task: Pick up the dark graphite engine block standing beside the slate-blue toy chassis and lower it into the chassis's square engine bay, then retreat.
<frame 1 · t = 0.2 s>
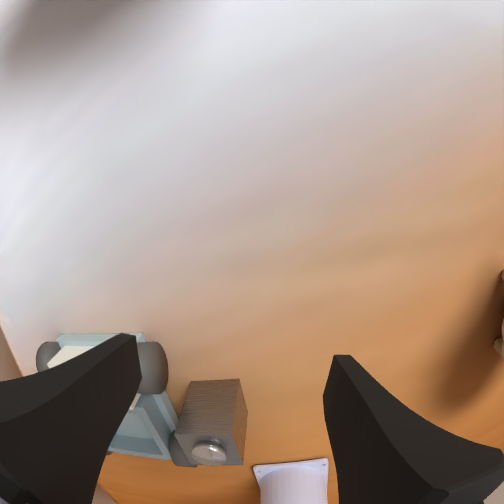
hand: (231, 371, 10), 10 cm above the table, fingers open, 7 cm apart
chassis: (126, 396, 23), on the table
engine block: (220, 397, 23), on the table
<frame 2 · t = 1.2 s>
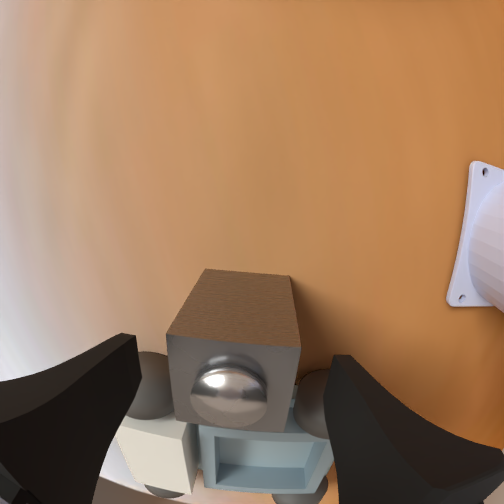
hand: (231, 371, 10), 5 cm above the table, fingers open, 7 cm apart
chassis: (236, 428, 17), on the table
engine block: (244, 310, 15), on the table
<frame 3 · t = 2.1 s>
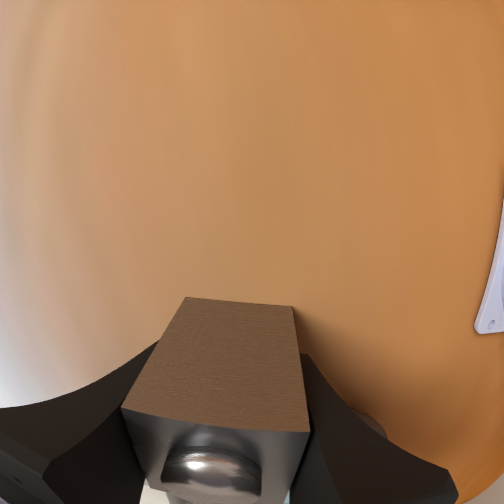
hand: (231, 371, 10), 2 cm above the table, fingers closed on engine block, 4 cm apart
chassis: (230, 466, 14), on the table
engine block: (235, 346, 11), on the table, touching gripper
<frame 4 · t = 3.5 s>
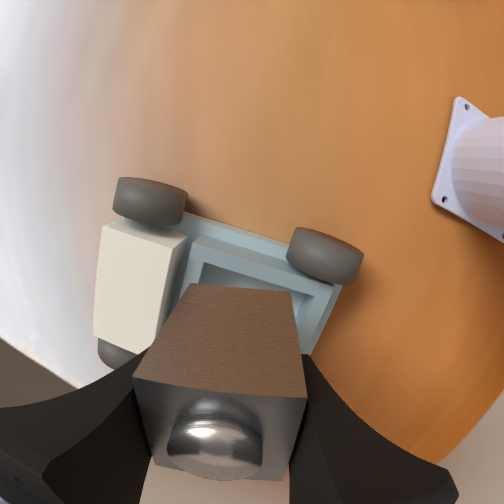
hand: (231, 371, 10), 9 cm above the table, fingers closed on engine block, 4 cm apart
chassis: (217, 293, 19), on the table
engine block: (237, 330, 12), point 6 cm above the table, touching gripper
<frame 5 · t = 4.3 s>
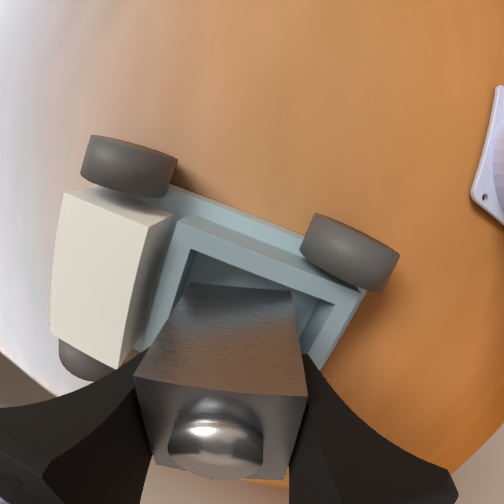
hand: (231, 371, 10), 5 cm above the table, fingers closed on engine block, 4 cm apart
chassis: (206, 292, 15), on the table
engine block: (237, 329, 12), point 3 cm above the table, touching gripper
when the fingers open (4 cm above the table, at t = 4.9 s): engine block stays where it is, resting on chassis.
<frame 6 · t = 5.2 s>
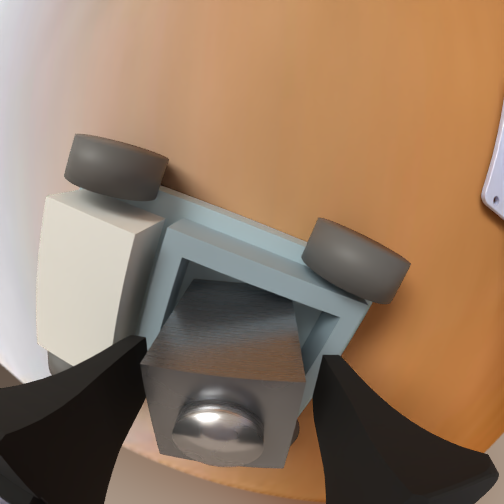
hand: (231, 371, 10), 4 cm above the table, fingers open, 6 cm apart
chassis: (201, 301, 14), on the table
engine block: (238, 324, 13), point 1 cm above the table, touching chassis
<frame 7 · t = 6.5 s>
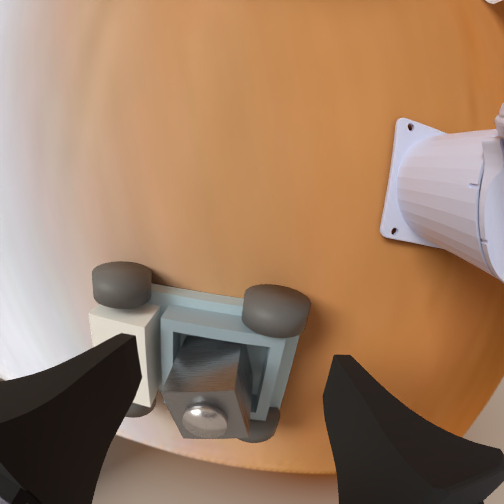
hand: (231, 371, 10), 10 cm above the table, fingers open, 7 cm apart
chassis: (197, 345, 21), on the table
engine block: (220, 357, 20), point 1 cm above the table, touching chassis
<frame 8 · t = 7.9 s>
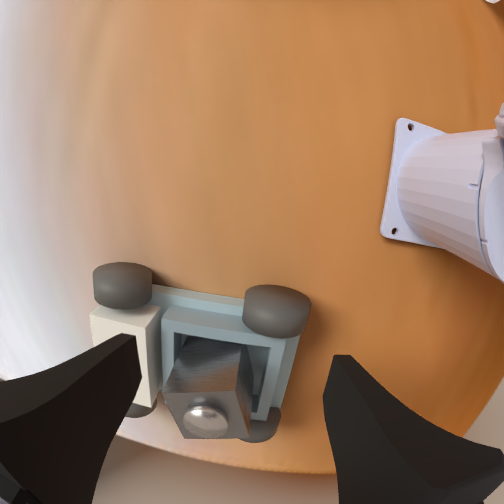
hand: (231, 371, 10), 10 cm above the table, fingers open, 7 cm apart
chassis: (197, 346, 21), on the table
engine block: (221, 357, 20), point 1 cm above the table, touching chassis
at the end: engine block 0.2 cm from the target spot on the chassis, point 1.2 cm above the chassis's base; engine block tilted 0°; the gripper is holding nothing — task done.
